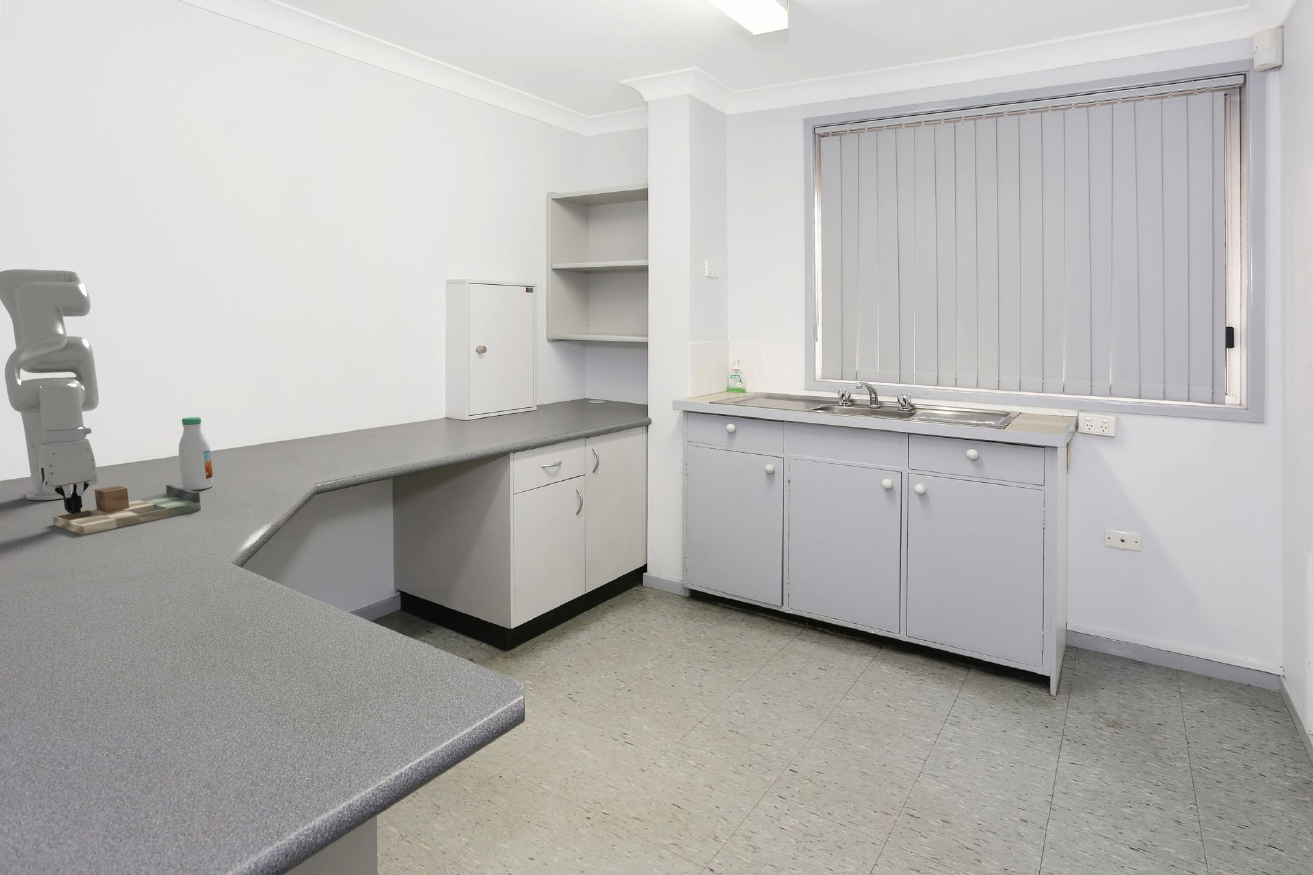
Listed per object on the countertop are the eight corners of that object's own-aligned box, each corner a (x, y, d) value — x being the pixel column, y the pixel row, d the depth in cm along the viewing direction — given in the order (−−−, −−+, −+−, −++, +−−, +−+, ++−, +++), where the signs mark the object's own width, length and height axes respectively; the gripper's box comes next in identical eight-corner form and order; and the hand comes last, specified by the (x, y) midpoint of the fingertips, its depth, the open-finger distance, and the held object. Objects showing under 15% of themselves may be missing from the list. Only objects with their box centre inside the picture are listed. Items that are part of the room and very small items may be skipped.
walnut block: (96, 509, 188) (94, 489, 187) (119, 504, 192) (117, 485, 191) (106, 512, 185) (103, 492, 184) (129, 507, 189) (127, 488, 188)
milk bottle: (199, 491, 214) (192, 420, 211) (175, 490, 216) (168, 419, 212) (220, 485, 222) (213, 416, 218) (196, 483, 223) (190, 415, 220)
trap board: (53, 524, 182) (51, 505, 181) (170, 501, 203) (169, 484, 203) (81, 535, 174) (79, 515, 173) (200, 509, 195) (199, 492, 195)
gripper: (94, 430, 187) (103, 503, 190) (18, 438, 174) (29, 517, 178) (108, 433, 183) (117, 508, 186) (32, 442, 170) (42, 522, 174)
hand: (74, 512), depth 182 cm, fingers closed
